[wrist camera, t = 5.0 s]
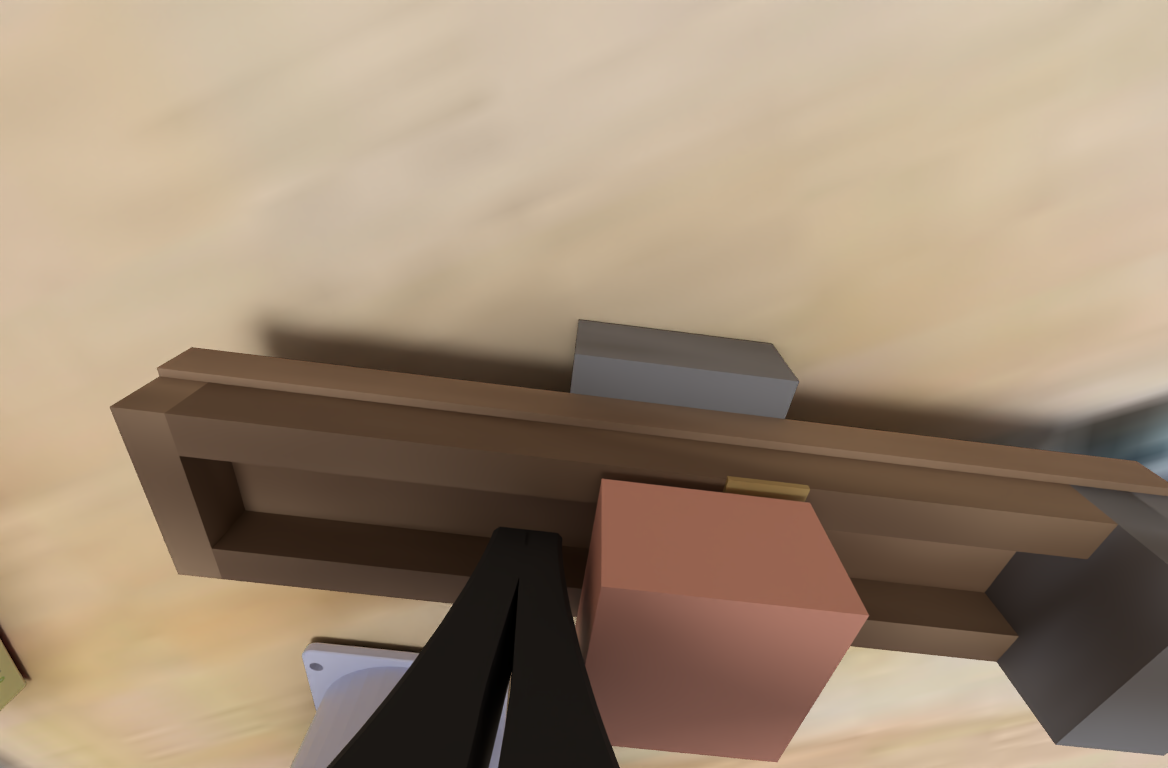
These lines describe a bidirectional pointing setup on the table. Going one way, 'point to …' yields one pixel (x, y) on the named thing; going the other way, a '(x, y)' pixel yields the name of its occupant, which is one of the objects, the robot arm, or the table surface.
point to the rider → (710, 618)
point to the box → (8, 678)
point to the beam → (677, 459)
